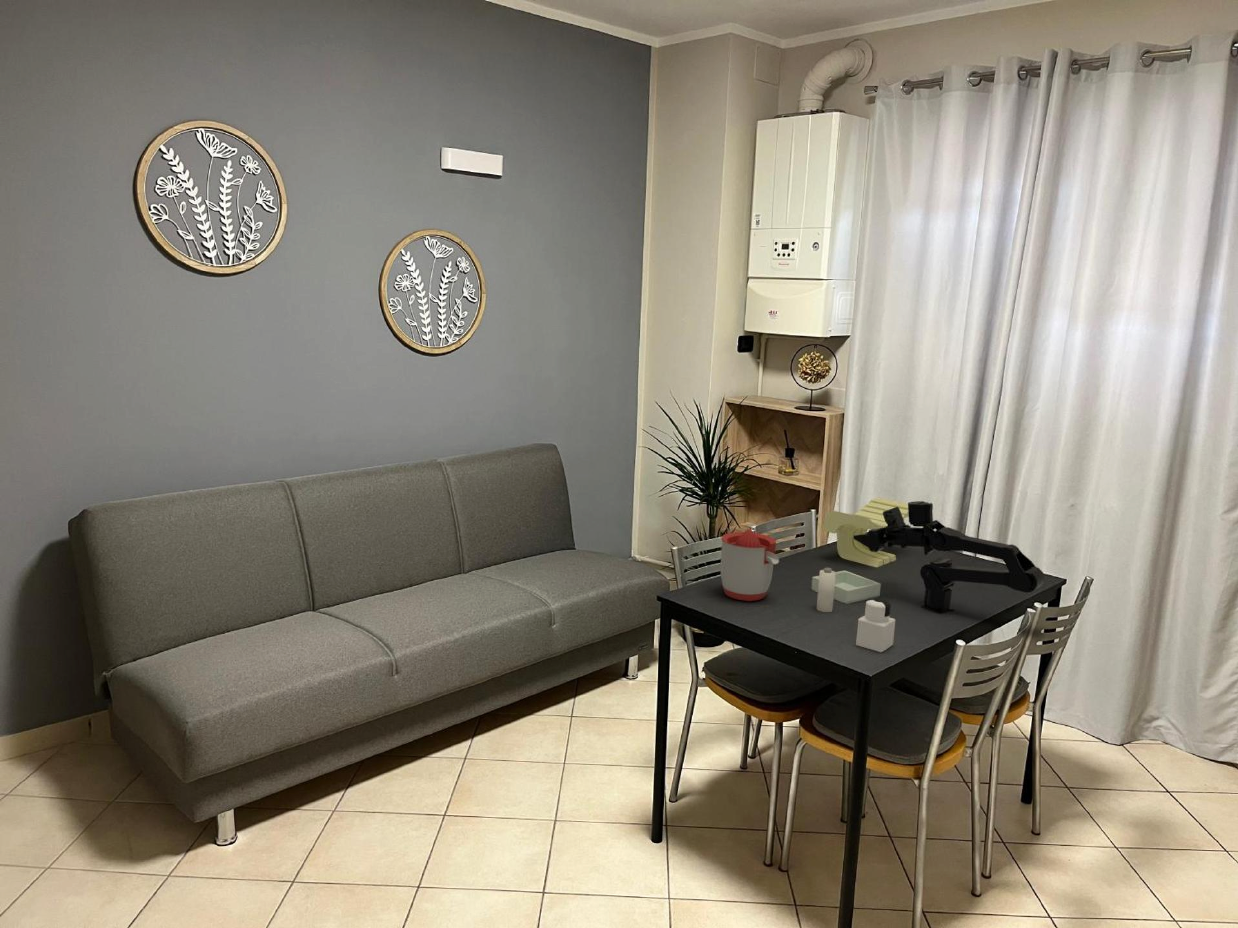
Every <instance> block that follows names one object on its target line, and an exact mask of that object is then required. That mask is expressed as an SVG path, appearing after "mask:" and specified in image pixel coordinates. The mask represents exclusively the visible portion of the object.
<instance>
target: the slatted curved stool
mask: <svg viewBox="0 0 1238 928" xmlns="http://www.w3.org/2000/svg"><path fill="white" fill-rule="evenodd" d="M895 507H898V508H899V509H900V512H901V514H902V517H903V520H904V521H905V518H909V514H908V502H907V503H906V502H904V501H903V502H901V501H898V500H892V499H888V498H883V497H877V498H876V497H875V498H873V499H871V500H870V501H869V502H868V503H867V504H865V505H864V506H863V507H862V508H860V510H859V511H857V512H855V513H853V514H850V513H845V512H841V511H837V510H830V511H828V512H827V513H826V514H825V516H824V520H823V528H822V529H823V530H822V531H823V532H827V533H831V534H836V549H837V552H838V553H837V554H838V555H839V556H840V558H842V559H843V560H846V561H847V560H848V561H851V562H856V563H859V564H862V565H866V566H870V567H873V568H879V567H882V566H883V565H887V564H890V563H891V562H895V561H897V556H896V555H895V554H893V553H889V552H887V551H886V552H885V551H883V550H880V551H878V552H871V551H870V550H869V548H868V547H866V546H865V545H863V544H861V543H860V542H858V541H856V540H855V539H854V535H861V534H867V533H868V531H869V530H872V529H878V528H884V527H886V526H887V523H886V522H885V519H884V516H883V512H884V511H887V510H889V509H892V508H895Z"/></svg>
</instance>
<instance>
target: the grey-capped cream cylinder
mask: <svg viewBox="0 0 1238 928" xmlns="http://www.w3.org/2000/svg"><path fill="white" fill-rule="evenodd" d="M836 572H837V571H834V570H832V567H824V568H823V569H820V570H819V575H818V576H819V585H818V592H817V599H816V601H817V602H816V610H817V611H819V612H823V613H831V612H833V609H834V608H833V606H834V599H833V598H834V587H835V576H836Z"/></svg>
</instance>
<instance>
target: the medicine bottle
mask: <svg viewBox="0 0 1238 928" xmlns="http://www.w3.org/2000/svg"><path fill="white" fill-rule="evenodd" d="M865 601H866V602H865V610H864V615H862V616H860V618H858V619H857V625H856V627H857V629H856V638H855V639H856V640H855V645H856V646H858V647H861V648H865V649H868V650H871V651H874V652H878V653H882V652H884V651H886V650H887V649H889V648H890V647H892V646H893V645H894V638H895V628H896V619H895V618H892V617H890V615H891V609H892V608H891V606H892V604H891V603H890V601H888V600H886V599H883V598H879V597H875V598H871V599H867V600H865Z"/></svg>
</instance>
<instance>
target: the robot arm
mask: <svg viewBox="0 0 1238 928" xmlns="http://www.w3.org/2000/svg"><path fill="white" fill-rule="evenodd" d="M907 504H908V514H909V517H908V524H907V523H906V522H905V519H904V520H903V517H902V514H901V512H900V509H899V508H898V507H895V508H892V509H889V510H887V511H884V512H883V516H884V519H885V522H886V523H887V526H886V527H884V528H878V529H872V530H871V529H868V531H867V533H866V534H861V535H854V539H855V540H856V541H858V542H860V543H861V544H863V545H865V546H866V547H868V548H869V550H870V551H871V552H878V551H883V550H884V548H885V547H886V546H885V544H887V548H893V547H900V548H901V549H905V548H920V549H921V548H922V549H923V552H924V553H923V554H924V556H927V555H929V554H932V553H933V551H935V550H936V551H939V552H941V551H942V552H943V551H944V552H956V551H957V552H966V553H971V554H974V555H980V556H984V557H989V558H994V559H999V560H1002V561H1003V563H1004V564H1005V567H1006V569H999V568H990V567H987V568H986V567H976V566H974V567H973V566H961V565H956V564H954V563H953V558H942V557H940V556H939V557H938V558H936V559H933V560H931V561H929V562H928V563H924V565H922V567H921V568H920V570H919V571H920V572H919V573H920V577H921V579H922V580H923V584H924V588H925V589H924V601H923V603H922V604H921V606H920V607H922V608H925V609H927V610H929V611H932V612H934V613H938V614H941V613H942V614H943V613H946V612H950V611H953V610H954V607H952V606H951V604H952V602H951V601H952V593H953V592H952V591H953V590H952V589H951V588H953V587H954V586H955V584H956V582H961V583H962V582H963V583H972V584H973V583H976V584H984V585H985V584H988V585H997V586H1005V587H1007V588H1009V589H1012V590H1014V591H1018V592H1022V593H1032V592H1033V591H1036V590H1037V589H1038V588H1040V587H1042V586H1043V584H1044V583H1045V580H1046V579H1045V578H1046V577H1045V573H1044V572H1043V570H1042V569H1040V567H1038V566H1036V565H1035V564H1034V562H1033V561H1032V560H1031V559H1030V558H1029V557H1027V556H1026V555H1025V554H1024V553H1023V552H1022V551H1021V550H1020V549H1019V547H1018V546H1017V545H1015V544H1013V543H1012V544H1007V543H1002V542H998V541H993V540H989V539H988V540H987V539H983V538H978V537H973V536H969V535H966V534H964V533H962V532H961V531H959V530H956V529H954V528H951V527H948V526H945V525H944V524H942V523H941V522H940V521H939V520H937V519H934V517H933V516H934V515H933V514H934V513H933V509H934V506H933V503H932V502H926V501H923V500H921V501H920V500H919V501H910V502H907ZM912 526H913V527H912Z"/></svg>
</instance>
